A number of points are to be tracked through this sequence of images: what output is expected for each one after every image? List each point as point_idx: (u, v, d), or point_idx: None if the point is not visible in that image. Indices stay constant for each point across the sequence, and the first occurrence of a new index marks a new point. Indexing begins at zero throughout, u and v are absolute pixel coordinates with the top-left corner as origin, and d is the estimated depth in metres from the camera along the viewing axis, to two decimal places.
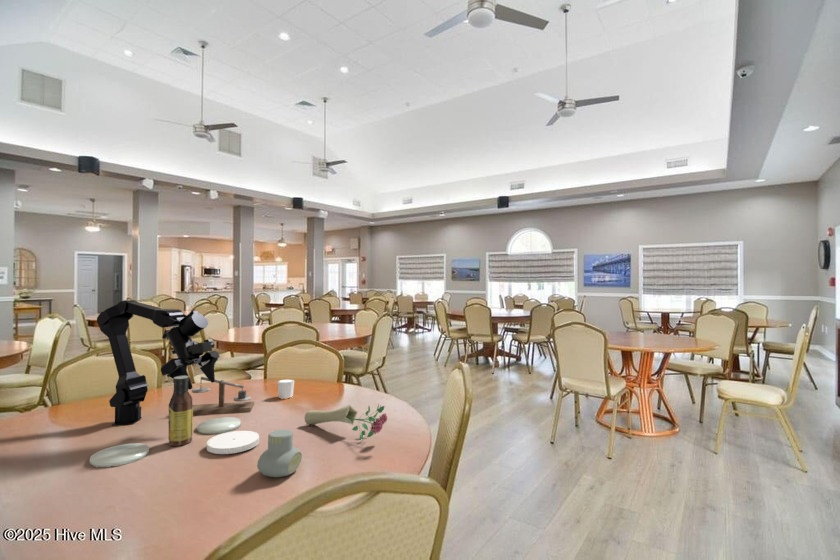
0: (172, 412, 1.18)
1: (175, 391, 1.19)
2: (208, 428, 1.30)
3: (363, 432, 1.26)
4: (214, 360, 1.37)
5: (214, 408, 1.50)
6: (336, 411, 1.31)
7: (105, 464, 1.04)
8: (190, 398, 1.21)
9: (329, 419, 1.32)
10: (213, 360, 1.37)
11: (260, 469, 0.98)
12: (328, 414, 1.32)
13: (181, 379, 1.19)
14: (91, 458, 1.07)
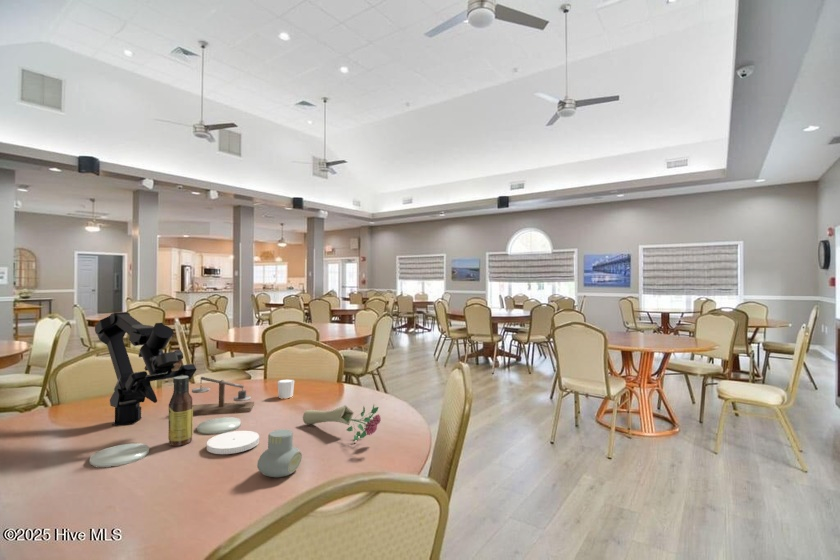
0: (172, 412, 1.18)
1: (175, 391, 1.19)
2: (208, 428, 1.30)
3: (358, 433, 1.25)
4: (188, 372, 1.31)
5: (214, 408, 1.50)
6: (332, 411, 1.31)
7: (105, 464, 1.04)
8: (190, 398, 1.21)
9: (326, 419, 1.32)
10: (186, 372, 1.30)
11: (260, 469, 0.98)
12: (325, 414, 1.32)
13: (181, 379, 1.19)
14: (91, 458, 1.07)
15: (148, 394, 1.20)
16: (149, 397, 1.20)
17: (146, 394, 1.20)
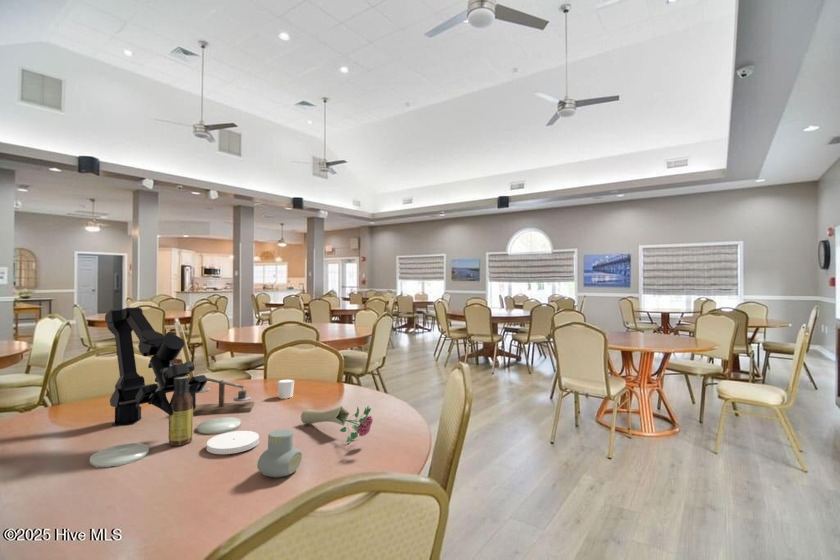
0: None
1: (175, 391, 1.19)
2: (208, 428, 1.30)
3: (352, 434, 1.25)
4: (195, 385, 1.26)
5: (214, 408, 1.50)
6: (328, 411, 1.30)
7: (105, 464, 1.04)
8: (190, 398, 1.21)
9: (322, 419, 1.32)
10: (193, 385, 1.26)
11: (260, 469, 0.98)
12: (321, 414, 1.32)
13: (181, 379, 1.19)
14: (91, 458, 1.07)
15: (164, 406, 1.18)
16: (165, 409, 1.18)
17: (162, 406, 1.18)
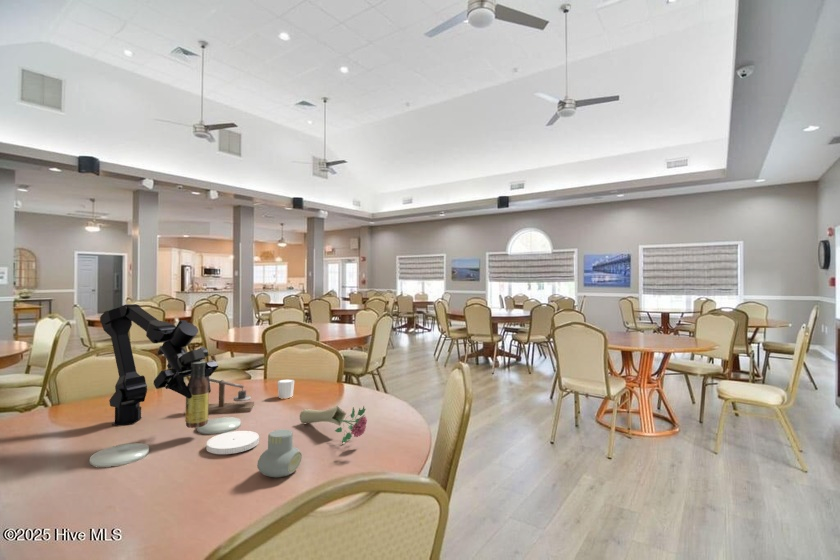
0: None
1: (193, 375, 1.24)
2: (208, 428, 1.30)
3: None
4: (208, 370, 1.31)
5: (214, 408, 1.50)
6: (325, 411, 1.30)
7: (105, 464, 1.04)
8: (207, 382, 1.26)
9: (319, 419, 1.32)
10: (207, 370, 1.30)
11: (260, 469, 0.98)
12: (318, 414, 1.32)
13: (199, 364, 1.24)
14: (91, 458, 1.07)
15: (182, 390, 1.22)
16: (183, 393, 1.22)
17: (180, 390, 1.22)
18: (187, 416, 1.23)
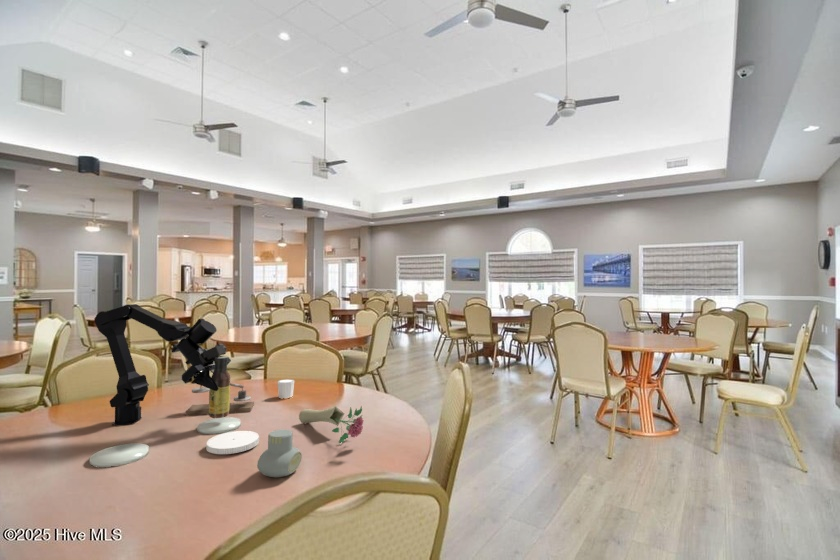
0: None
1: (218, 369, 1.33)
2: (208, 428, 1.30)
3: None
4: None
5: None
6: (324, 411, 1.30)
7: (105, 464, 1.04)
8: (229, 375, 1.36)
9: (318, 419, 1.32)
10: None
11: (260, 469, 0.98)
12: (317, 414, 1.32)
13: (224, 358, 1.34)
14: (91, 458, 1.07)
15: (209, 383, 1.31)
16: (210, 386, 1.31)
17: (206, 384, 1.31)
18: (213, 407, 1.32)
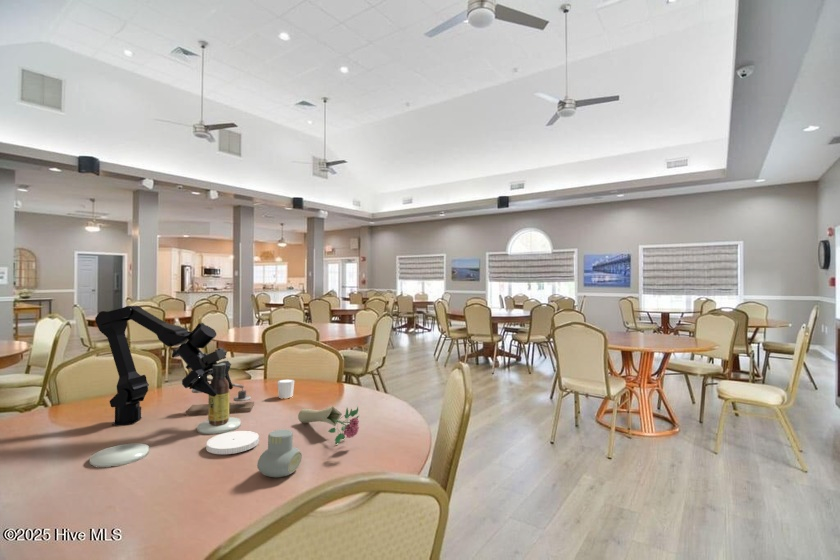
0: (216, 395, 1.32)
1: (217, 376, 1.33)
2: (208, 428, 1.30)
3: (342, 435, 1.24)
4: (227, 368, 1.41)
5: None
6: (321, 411, 1.30)
7: (105, 464, 1.04)
8: (228, 382, 1.36)
9: (316, 419, 1.32)
10: (227, 368, 1.41)
11: (260, 469, 0.98)
12: (315, 414, 1.32)
13: (222, 365, 1.34)
14: (91, 458, 1.07)
15: (207, 389, 1.29)
16: (207, 392, 1.30)
17: (204, 389, 1.29)
18: (212, 415, 1.32)
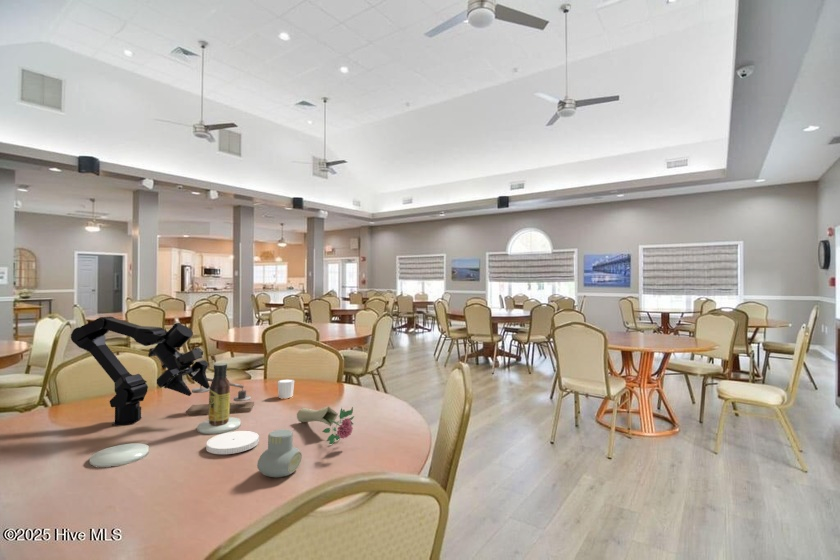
0: (216, 395, 1.32)
1: (218, 376, 1.33)
2: (208, 428, 1.30)
3: (337, 435, 1.23)
4: (204, 368, 1.42)
5: None
6: (318, 411, 1.31)
7: (105, 464, 1.04)
8: None
9: (313, 418, 1.32)
10: (204, 368, 1.42)
11: (260, 469, 0.98)
12: (312, 413, 1.33)
13: (223, 365, 1.34)
14: (91, 458, 1.07)
15: (182, 388, 1.30)
16: (182, 391, 1.31)
17: (179, 389, 1.30)
18: (212, 415, 1.32)
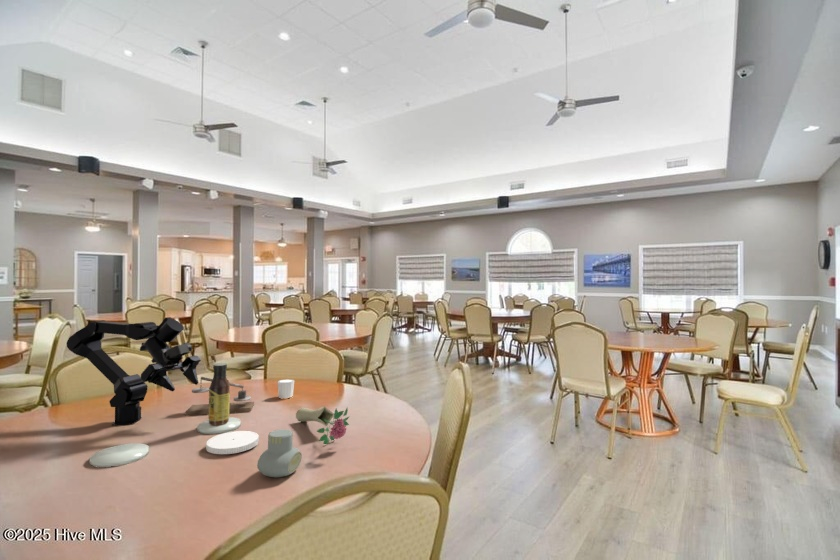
0: (216, 395, 1.32)
1: (217, 377, 1.33)
2: (208, 428, 1.30)
3: (332, 435, 1.23)
4: (195, 363, 1.40)
5: None
6: (315, 411, 1.31)
7: (105, 464, 1.04)
8: (228, 382, 1.36)
9: (310, 418, 1.32)
10: (194, 363, 1.40)
11: (260, 469, 0.98)
12: (310, 413, 1.33)
13: (223, 365, 1.34)
14: (91, 458, 1.07)
15: (165, 383, 1.29)
16: (166, 386, 1.29)
17: (163, 384, 1.29)
18: (212, 415, 1.32)
